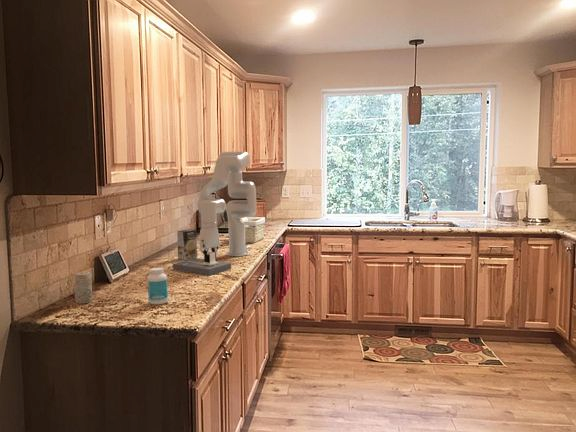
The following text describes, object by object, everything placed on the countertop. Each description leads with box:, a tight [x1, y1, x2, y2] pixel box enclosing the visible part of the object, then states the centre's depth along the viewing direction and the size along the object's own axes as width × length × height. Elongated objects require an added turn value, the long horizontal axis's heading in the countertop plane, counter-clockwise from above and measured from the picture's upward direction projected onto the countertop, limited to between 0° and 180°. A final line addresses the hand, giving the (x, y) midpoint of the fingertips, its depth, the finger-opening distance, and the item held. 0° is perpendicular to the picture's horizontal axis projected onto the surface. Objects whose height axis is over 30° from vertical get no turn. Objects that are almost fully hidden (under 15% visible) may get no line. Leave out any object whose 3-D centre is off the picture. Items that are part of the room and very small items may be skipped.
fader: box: [203, 251, 218, 266], centre depth 244 cm, size 6×5×6 cm
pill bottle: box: [146, 267, 169, 306], centre depth 191 cm, size 8×7×14 cm
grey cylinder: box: [74, 271, 93, 305], centre depth 193 cm, size 6×8×12 cm
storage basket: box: [241, 216, 266, 244], centre depth 331 cm, size 24×16×15 cm
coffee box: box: [176, 228, 198, 261], centre depth 274 cm, size 9×6×16 cm
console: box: [172, 257, 232, 276], centre depth 247 cm, size 16×25×3 cm, turn 56°
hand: (210, 261), depth 244 cm, fingers closed on fader, 4 cm apart
